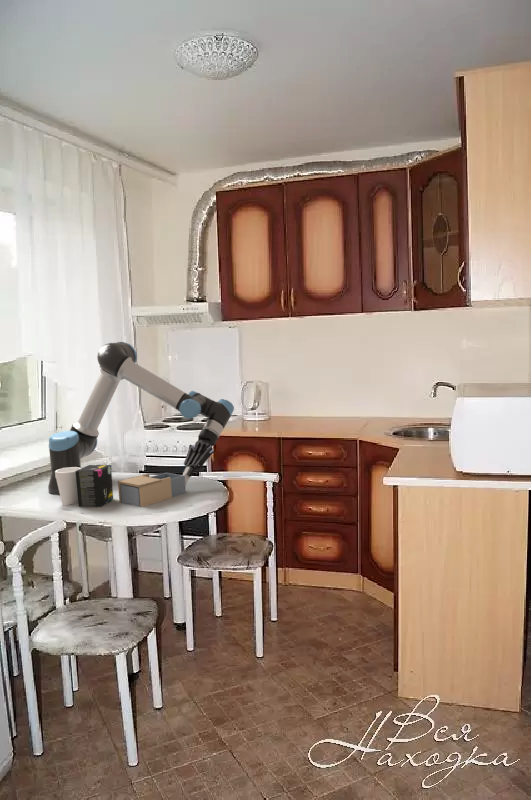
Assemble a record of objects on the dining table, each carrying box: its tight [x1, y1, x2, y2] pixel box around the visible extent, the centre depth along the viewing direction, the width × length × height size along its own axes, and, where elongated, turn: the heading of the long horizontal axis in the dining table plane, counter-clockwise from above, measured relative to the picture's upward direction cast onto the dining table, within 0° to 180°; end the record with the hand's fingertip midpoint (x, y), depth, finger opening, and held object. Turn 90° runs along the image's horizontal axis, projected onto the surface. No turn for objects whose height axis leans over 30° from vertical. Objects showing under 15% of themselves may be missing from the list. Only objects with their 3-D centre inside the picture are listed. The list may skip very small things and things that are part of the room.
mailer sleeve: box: [117, 473, 173, 508], centre depth 238 cm, size 13×14×9 cm
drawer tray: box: [120, 472, 187, 507], centre depth 241 cm, size 11×22×7 cm, turn 139°
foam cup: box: [55, 467, 82, 507], centre depth 242 cm, size 10×9×13 cm
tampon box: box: [75, 464, 114, 508], centre depth 237 cm, size 11×9×15 cm
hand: (182, 482), depth 252 cm, fingers closed
